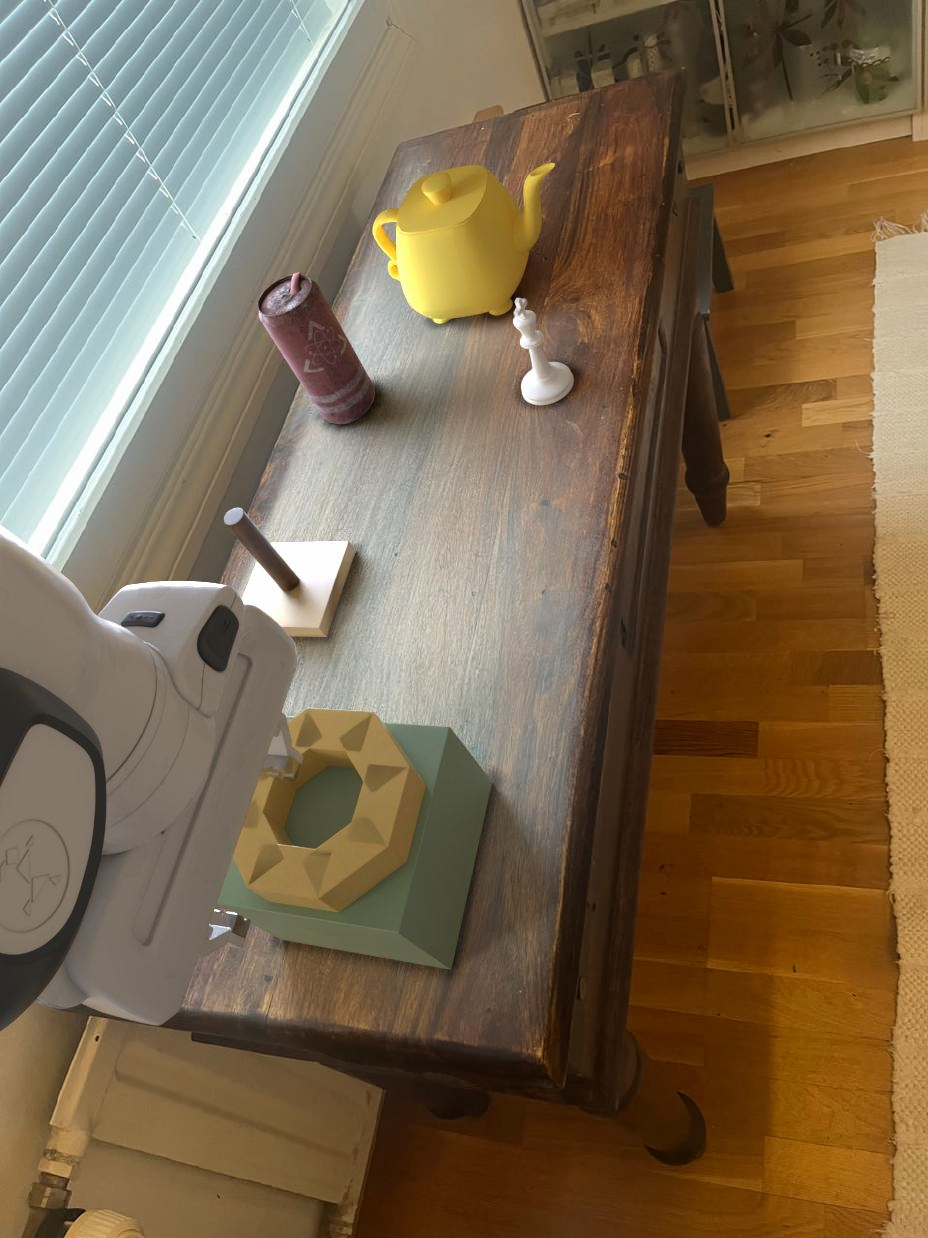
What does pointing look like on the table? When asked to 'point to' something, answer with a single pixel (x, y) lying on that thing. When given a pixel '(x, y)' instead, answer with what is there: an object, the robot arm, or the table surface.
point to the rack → (293, 577)
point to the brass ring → (359, 847)
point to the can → (316, 348)
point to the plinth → (413, 894)
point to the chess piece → (539, 363)
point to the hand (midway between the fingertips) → (264, 847)
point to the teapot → (462, 241)
